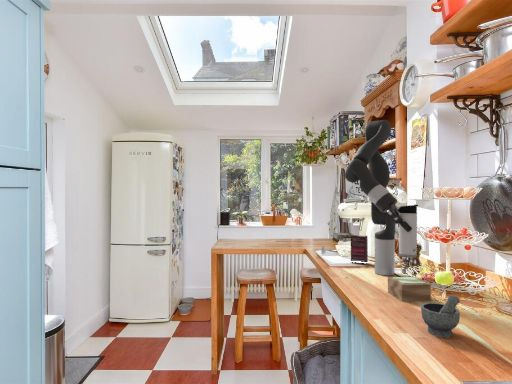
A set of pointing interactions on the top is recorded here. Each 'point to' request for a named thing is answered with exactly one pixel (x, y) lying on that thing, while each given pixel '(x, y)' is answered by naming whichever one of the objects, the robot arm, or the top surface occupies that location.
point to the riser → (409, 289)
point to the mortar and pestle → (441, 316)
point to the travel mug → (408, 238)
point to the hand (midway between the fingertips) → (412, 229)
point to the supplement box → (359, 248)
